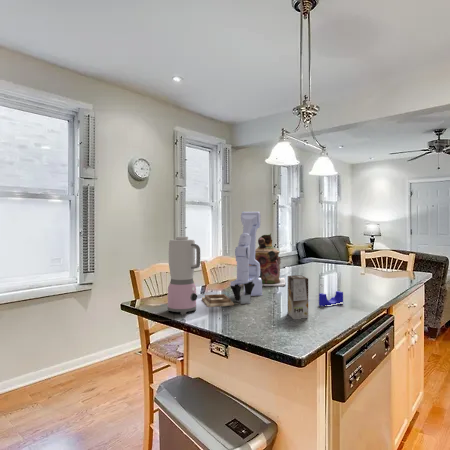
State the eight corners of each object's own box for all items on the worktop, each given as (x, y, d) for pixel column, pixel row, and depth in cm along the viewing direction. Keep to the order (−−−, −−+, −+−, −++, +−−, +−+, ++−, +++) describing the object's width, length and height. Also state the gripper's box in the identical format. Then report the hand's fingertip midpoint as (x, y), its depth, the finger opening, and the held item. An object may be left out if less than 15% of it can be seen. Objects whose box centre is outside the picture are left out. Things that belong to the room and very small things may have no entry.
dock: (225, 298, 172) (225, 293, 172) (234, 305, 156) (234, 299, 156) (202, 299, 169) (202, 294, 169) (208, 307, 153) (208, 301, 153)
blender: (161, 312, 144) (161, 237, 144) (179, 306, 155) (179, 236, 155) (190, 317, 136) (190, 237, 136) (208, 311, 146) (208, 236, 146)
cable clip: (335, 303, 162) (335, 290, 162) (343, 305, 158) (343, 292, 158) (316, 305, 156) (316, 292, 156) (323, 308, 153) (323, 294, 152)
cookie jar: (247, 280, 230) (247, 232, 230) (284, 280, 227) (284, 232, 227) (245, 286, 206) (244, 233, 206) (286, 287, 202) (286, 233, 202)
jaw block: (244, 300, 168) (244, 292, 168) (250, 303, 161) (250, 294, 161) (235, 301, 166) (235, 292, 166) (240, 304, 159) (240, 295, 159)
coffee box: (309, 319, 134) (309, 278, 134) (293, 319, 133) (293, 278, 133) (301, 313, 143) (301, 275, 143) (286, 313, 142) (286, 275, 142)
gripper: (246, 268, 171) (246, 295, 171) (225, 271, 161) (226, 300, 161) (257, 270, 166) (257, 297, 166) (236, 273, 156) (236, 302, 156)
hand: (242, 299), depth 164 cm, fingers open, 7 cm apart
